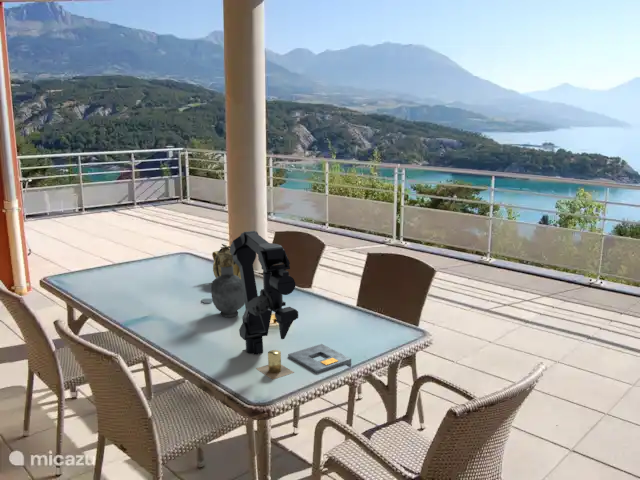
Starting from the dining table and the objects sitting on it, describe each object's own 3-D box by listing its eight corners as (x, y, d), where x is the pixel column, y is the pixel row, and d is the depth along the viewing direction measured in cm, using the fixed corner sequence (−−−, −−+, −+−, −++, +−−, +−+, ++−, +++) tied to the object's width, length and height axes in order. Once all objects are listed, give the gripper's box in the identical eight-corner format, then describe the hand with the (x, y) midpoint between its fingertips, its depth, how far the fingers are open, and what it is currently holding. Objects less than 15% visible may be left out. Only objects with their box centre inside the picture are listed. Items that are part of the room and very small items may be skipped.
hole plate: (288, 359, 182) (288, 353, 181) (321, 349, 190) (321, 343, 190) (316, 376, 169) (316, 369, 169) (351, 364, 177) (351, 358, 177)
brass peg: (266, 370, 172) (265, 352, 171) (276, 366, 174) (276, 349, 173) (272, 374, 169) (272, 356, 168) (283, 370, 171) (283, 353, 170)
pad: (255, 371, 173) (255, 368, 173) (277, 364, 178) (277, 361, 178) (272, 382, 166) (272, 379, 165) (294, 375, 170) (294, 372, 170)
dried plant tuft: (203, 282, 275) (201, 253, 272) (229, 275, 288) (227, 247, 285) (232, 290, 261) (231, 260, 258) (258, 282, 274) (257, 253, 271)
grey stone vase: (225, 322, 218) (221, 249, 212) (206, 309, 233) (202, 241, 227) (249, 316, 224) (246, 245, 218) (229, 305, 239) (226, 238, 233)
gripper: (234, 284, 169) (236, 332, 172) (266, 298, 154) (268, 350, 157) (265, 278, 175) (266, 324, 178) (298, 291, 161) (300, 341, 164)
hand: (274, 334), depth 169 cm, fingers open, 9 cm apart
